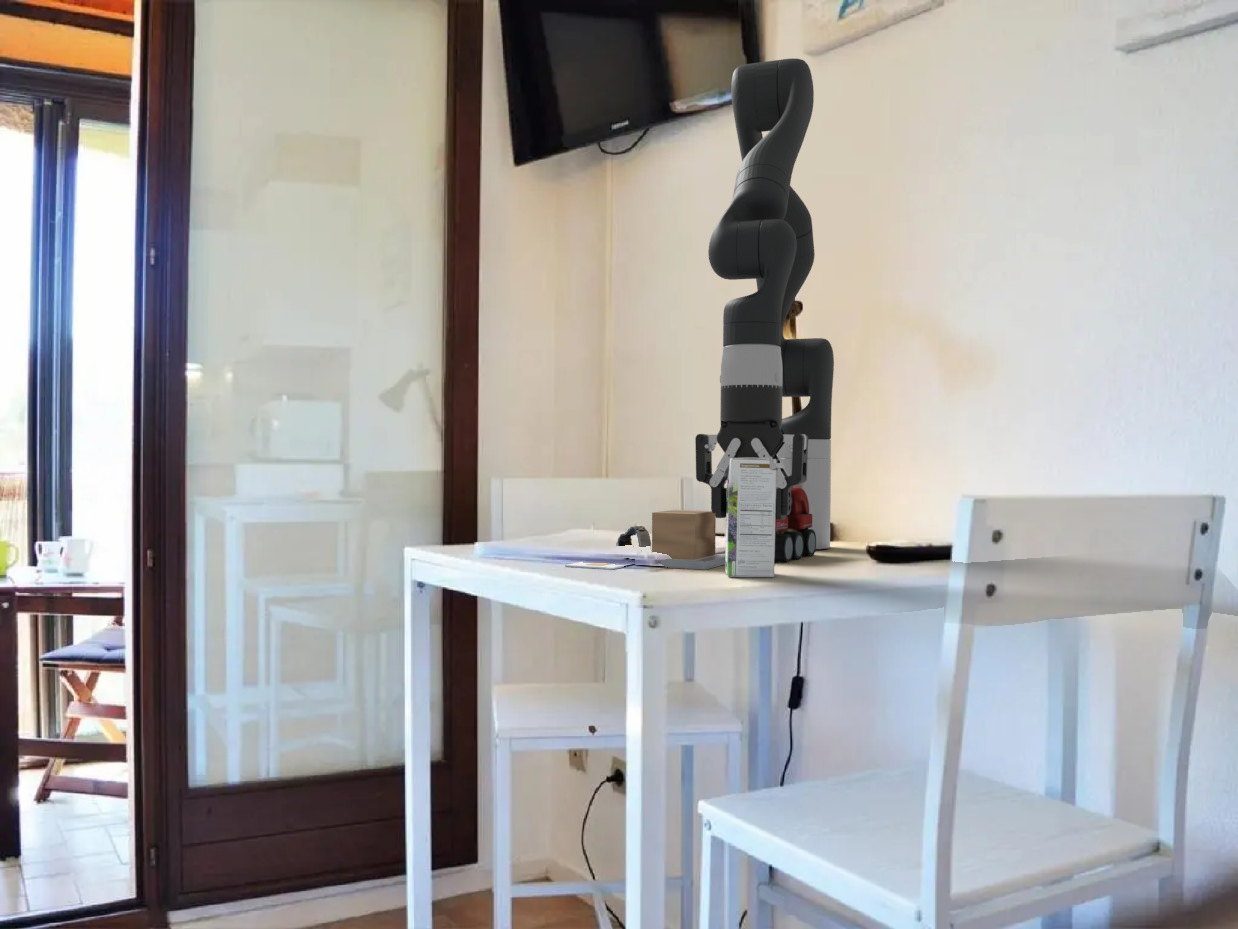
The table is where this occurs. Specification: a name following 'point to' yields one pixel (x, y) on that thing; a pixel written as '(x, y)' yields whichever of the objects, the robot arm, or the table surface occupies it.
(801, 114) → the robot arm
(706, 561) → the plate
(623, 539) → the wristwatch
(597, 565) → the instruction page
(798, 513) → the toy fire truck
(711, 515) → the brick
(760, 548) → the syrup box
